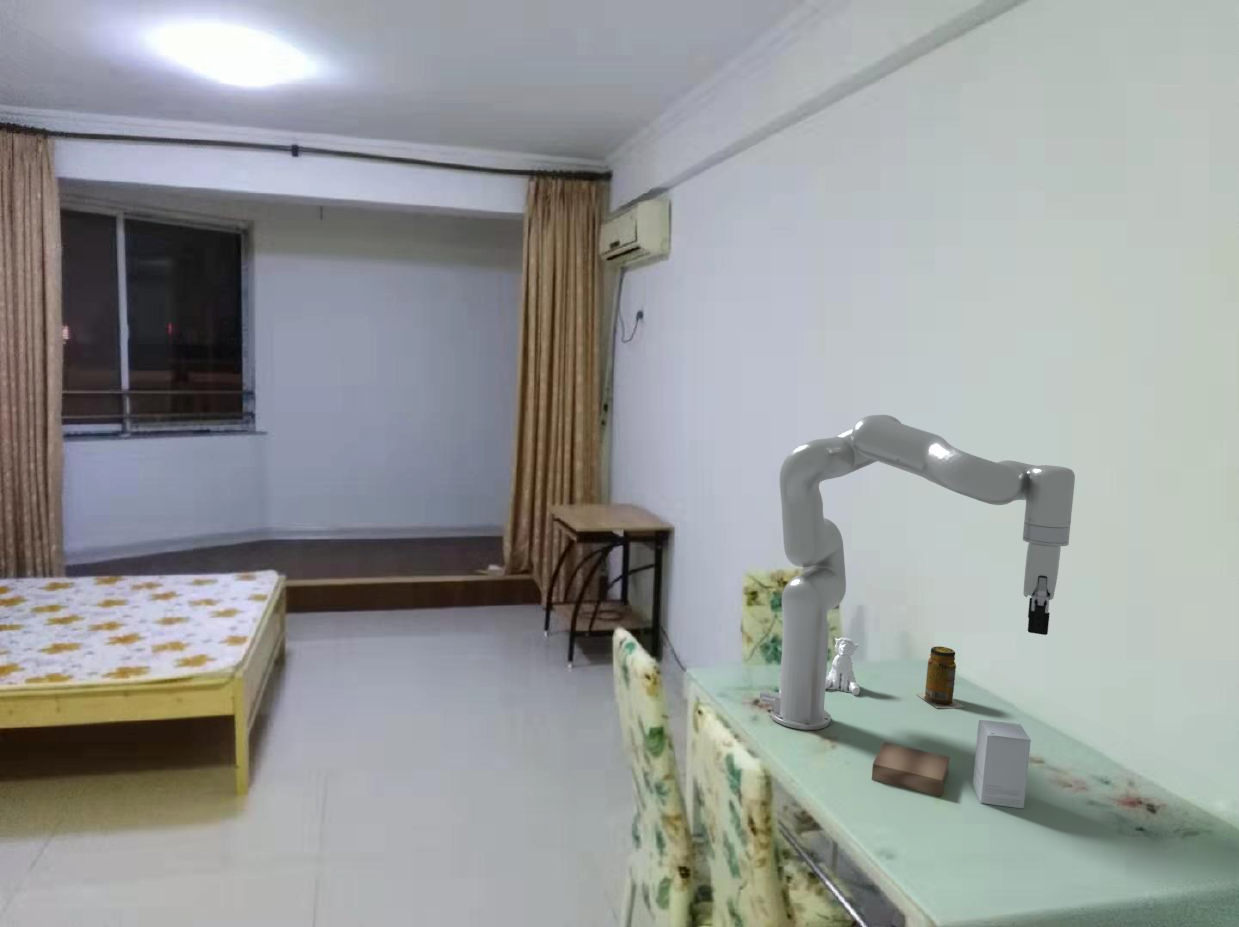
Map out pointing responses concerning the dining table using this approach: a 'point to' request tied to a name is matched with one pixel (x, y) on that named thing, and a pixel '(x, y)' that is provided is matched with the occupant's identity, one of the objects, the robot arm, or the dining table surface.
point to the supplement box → (1001, 763)
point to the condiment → (941, 679)
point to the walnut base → (911, 768)
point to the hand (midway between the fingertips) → (1037, 626)
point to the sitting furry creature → (843, 668)
